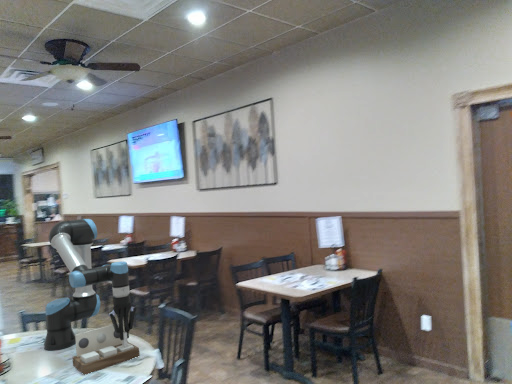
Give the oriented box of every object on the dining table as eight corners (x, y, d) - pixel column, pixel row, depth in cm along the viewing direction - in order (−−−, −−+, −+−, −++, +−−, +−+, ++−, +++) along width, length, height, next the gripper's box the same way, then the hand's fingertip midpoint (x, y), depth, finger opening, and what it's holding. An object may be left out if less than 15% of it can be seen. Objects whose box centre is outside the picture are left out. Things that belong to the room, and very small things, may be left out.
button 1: (80, 361, 180) (80, 355, 180) (94, 357, 184) (94, 351, 184) (85, 364, 176) (85, 358, 176) (99, 360, 179) (99, 354, 179)
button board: (72, 365, 184) (72, 356, 184) (126, 349, 201) (125, 340, 201) (84, 375, 173) (83, 365, 173) (139, 356, 189) (139, 347, 189)
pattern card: (76, 356, 184) (75, 334, 184) (123, 342, 199) (122, 321, 199) (77, 357, 183) (76, 335, 183) (125, 343, 198) (123, 322, 198)
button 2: (116, 352, 191) (116, 347, 191) (129, 349, 194) (128, 343, 194) (121, 356, 186) (121, 350, 186) (134, 352, 190) (134, 346, 190)
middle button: (99, 355, 185) (98, 349, 185) (112, 351, 189) (111, 345, 189) (104, 359, 181) (103, 352, 181) (117, 354, 185) (117, 348, 185)
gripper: (110, 299, 183) (114, 352, 183) (138, 293, 192) (141, 343, 192) (104, 297, 189) (108, 348, 189) (131, 291, 198) (134, 340, 197)
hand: (125, 346), depth 190 cm, fingers closed
